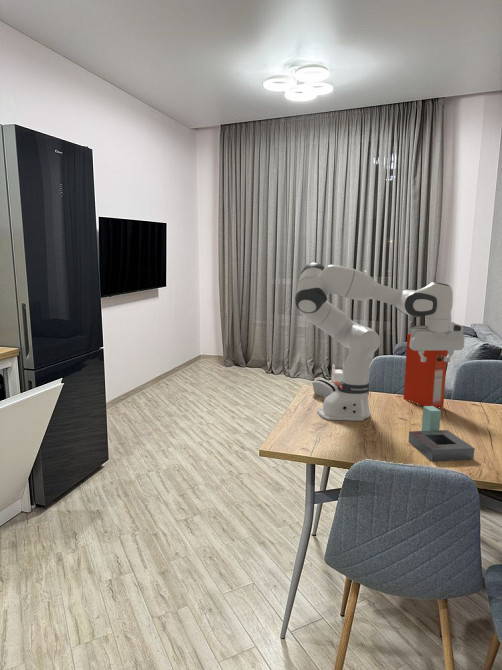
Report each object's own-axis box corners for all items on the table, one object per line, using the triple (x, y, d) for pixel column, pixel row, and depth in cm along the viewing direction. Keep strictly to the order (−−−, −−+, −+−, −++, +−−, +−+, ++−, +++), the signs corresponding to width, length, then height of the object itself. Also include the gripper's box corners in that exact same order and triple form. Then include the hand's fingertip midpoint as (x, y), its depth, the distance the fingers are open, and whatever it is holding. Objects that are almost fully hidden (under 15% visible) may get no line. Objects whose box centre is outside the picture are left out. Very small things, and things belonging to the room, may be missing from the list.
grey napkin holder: (343, 401, 222) (338, 382, 219) (335, 405, 220) (330, 387, 217) (322, 392, 236) (317, 374, 233) (314, 396, 234) (309, 378, 231)
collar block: (431, 461, 156) (432, 449, 156) (408, 441, 173) (409, 431, 172) (473, 459, 158) (474, 448, 158) (446, 440, 175) (447, 430, 174)
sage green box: (429, 436, 179) (431, 411, 177) (421, 430, 185) (423, 406, 183) (438, 436, 179) (441, 410, 178) (431, 430, 185) (432, 406, 184)
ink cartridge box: (343, 396, 229) (344, 367, 226) (332, 396, 229) (334, 367, 227) (340, 391, 237) (341, 363, 235) (330, 391, 237) (331, 363, 235)
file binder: (429, 409, 211) (435, 339, 206) (403, 399, 226) (407, 333, 221) (443, 407, 214) (448, 338, 209) (415, 397, 230) (420, 332, 224)
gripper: (415, 326, 172) (412, 363, 175) (468, 326, 174) (464, 363, 176) (407, 324, 179) (405, 360, 181) (459, 324, 180) (456, 359, 183)
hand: (435, 361), depth 179 cm, fingers open, 8 cm apart
